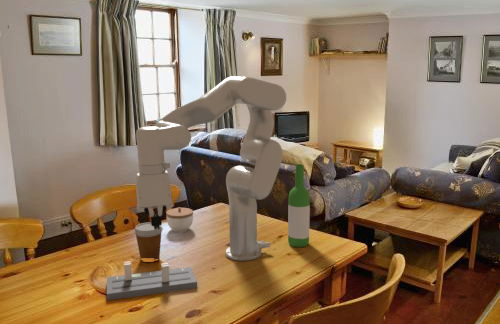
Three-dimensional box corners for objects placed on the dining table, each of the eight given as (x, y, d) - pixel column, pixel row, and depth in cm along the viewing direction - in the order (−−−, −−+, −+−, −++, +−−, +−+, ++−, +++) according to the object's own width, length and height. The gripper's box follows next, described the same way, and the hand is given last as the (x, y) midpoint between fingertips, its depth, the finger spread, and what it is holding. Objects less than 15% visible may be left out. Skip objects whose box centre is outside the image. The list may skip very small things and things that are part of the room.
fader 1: (131, 276, 145) (130, 260, 144) (132, 279, 142) (130, 263, 141) (124, 277, 144) (123, 261, 143) (125, 280, 142) (124, 264, 141)
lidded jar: (191, 234, 186) (191, 211, 184) (164, 234, 186) (163, 211, 184) (195, 225, 196) (194, 203, 194) (169, 225, 196) (168, 203, 194)
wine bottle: (288, 239, 180) (289, 162, 173) (309, 240, 178) (310, 163, 172) (287, 247, 172) (287, 167, 166) (308, 248, 171) (310, 167, 165)
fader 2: (168, 278, 143) (167, 262, 142) (169, 281, 141) (168, 265, 140) (161, 278, 143) (161, 263, 142) (162, 282, 140) (161, 266, 139)
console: (191, 272, 152) (191, 266, 152) (197, 287, 142) (197, 281, 142) (107, 283, 145) (107, 277, 145) (107, 300, 135) (106, 293, 135)
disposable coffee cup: (157, 266, 157) (156, 232, 155) (131, 264, 159) (129, 230, 157) (168, 254, 166) (166, 222, 164) (142, 252, 168) (141, 220, 166)
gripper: (175, 163, 144) (179, 220, 148) (125, 168, 140) (130, 226, 144) (179, 169, 137) (183, 228, 141) (126, 174, 133) (131, 235, 137)
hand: (156, 227), depth 143 cm, fingers closed
